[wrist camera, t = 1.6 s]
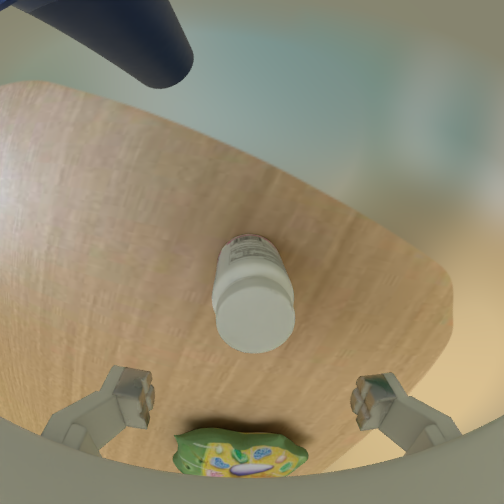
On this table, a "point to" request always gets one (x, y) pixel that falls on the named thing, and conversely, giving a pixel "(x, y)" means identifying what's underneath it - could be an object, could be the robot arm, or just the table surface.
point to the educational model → (237, 454)
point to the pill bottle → (252, 295)
